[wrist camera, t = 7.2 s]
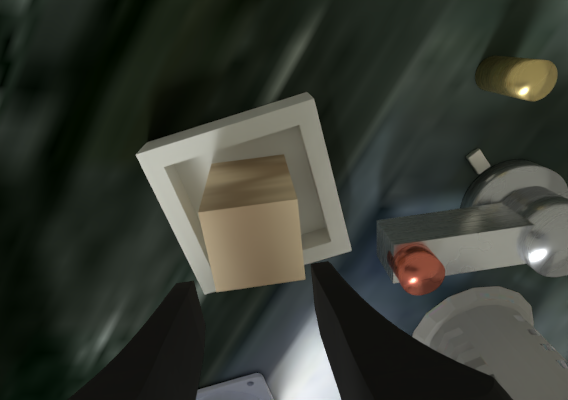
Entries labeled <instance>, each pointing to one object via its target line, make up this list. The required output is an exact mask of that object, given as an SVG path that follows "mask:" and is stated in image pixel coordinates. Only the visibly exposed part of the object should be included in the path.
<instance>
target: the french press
mask: <svg viewBox="0 0 568 400" xmlns="http://www.w3.org/2000/svg"><path fill="white" fill-rule="evenodd" d="M533 326H534V321H533V314H532V307H531V305H530V304H529V303H528V302H527V301H526V300H525V299H524V298H523V297H522V295H521V294H520V293H518V292H515V291H512V290H509V289H506V288H503V287H500V286H493V287H478V288H471V289H469V290H466V291H463V292H461V293H458V294H456V295H453V296H450V297H448V298H446V299H445V300H444V301H442V302H441V303H440V304H438V305H437V306H436V307H434V308H433V309H432V310H430V311H429V312H428V313H426V315H425V316H424V318H423V319H422V321H421V322H420V323H419V325H418V326H417V328H416V329H415V331H414V332H413V336H412V337H413V338H415V339H417V340H418V341H420V342H422V343H423V344H425V345H427V346H428V347H430V348H432V349H434V350H435V351H437V352H439V353H441V354H443V355H445V356H447V357H449V358H451V359H453V360H455V361H457V362H459V363H462V364H464V365H466V366H469V367H471V368H473V369H476V370H478V371H481V372H483V373H485V374H488V375H490V376H492V377H494V378H495V379H496V381H497V382H498V383H499V384H500V385H501V386H502V387H503V388H504V389H505V391H506V392H507V393H508V394H509V395H510V397H511V398H512V399H513V400H568V367H567V365H566V363H565V362H564V360H565V359H564V358H563V357H562V356H561V355H560V354H559V353H558V352H557V351H556V350H555V349H554V348H553V347H552V348H553V349H554V351H552V349H551V347H550V345H549V343H548V342H547V341H546V340H545V339H544V338H543V337H542V336H541V334H540V333H539V332H538V331H537V330H536V329H535V328H534V327H533ZM536 331H537V332H538V333H539V334H540V336H538V334H537V332H536ZM543 344H546V346H547V349H548V350H545V349H544V347H543ZM557 360H560V362H561V364H562V365H563V367H564V368H562V367H561V366H560V365H559V364H558V362H557ZM565 361H566V360H565ZM566 362H567V361H566ZM567 363H568V362H567Z"/></svg>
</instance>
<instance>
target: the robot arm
mask: <svg viewBox="0 0 568 400" xmlns="http://www.w3.org/2000/svg"><path fill="white" fill-rule="evenodd" d="M311 272H312V282H313V293H314V304H315V311H316V316H317V321H318V326H319V331H320V335H321V338H322V341H323V344H324V347H325V351H326V354H327V357H328V360H329V363H330V366H331V369H332V372H333V375H334V378H335V381H336V384H337V387H338V390H339V393H340V396H341V400H513V399H512V398H511V397H510V395H509V394H508V393H507V392H506V391H505V389H504V388H503V387H502V386H501V385H500V384H499V383H498V382H497V381H496V379H495V378H494V377H492V376H490V375H488V374H485V373H483V372H481V371H478V370H476V369H473V368H471V367H469V366H466V365H464V364H462V363H459V362H457V361H455V360H453V359H451V358H449V357H447V356H445V355H443V354H441V353H439V352H437V351H435V350H434V349H432V348H430V347H428V346H427V345H425V344H423V343H422V342H420V341H418V340H417V339H415V338H413V337H412V336H410V335H408V334H407V333H405V332H404V331H402V330H401V329H399V328H398V327H397V326H395V325H394V324H393V323H391V322H390V321H388V320H387V319H386V318H385V317H383V316H382V315H381V314H380V313H378V312H377V311H376V310H375V309H374V308H373V307H371V306H370V305H369V304H368V303H367V302H366V301H365V300H364V299H363V298H362V297H361V296H360V295H359V294H358V293H357V292H356V291H355V290H354V289H353V288H352V287H351V286H350V285H349V284H348V283H347V282H346V281H345V280H344V279H343V278H342V277H341V275H340V274H339V273H338V272H337V271H336V270H335V268H334V267H333V266H332V264H331V263H329V262H328V261H327V262H320V263H314V264H311ZM205 328H206V325H205V321H204V318H203V314H202V310H201V306H200V302H199V299H198V295H197V291H196V287H195V284H194V281H190V282H183V283H176V285H175V286H174V287H173V288H172V290H171V291H170V292H169V293H168V295H167V296H166V297H165V299H164V300H163V301H162V303H161V304H160V305H159V307H158V308H157V309H156V311H155V312H154V313H153V314H152V316H151V317H150V318H149V319H148V321H147V322H146V323H145V324H144V326H143V327H142V328H141V329H140V330H139V332H138V333H137V334H136V335H135V336H134V337H133V338H132V340H131V341H130V342H129V343H128V344H127V345H126V346H125V347H124V349H123V350H122V351H121V352H120V353H119V354H118V355H117V356H116V357H115V358H114V359H113V360H112V361H111V362H110V363H109V364H108V365H107V366H106V367H105V368H104V369H102V370H101V371H100V372H99V373H98V374H97V375H96V376H95V377H94V378H93V379H91V380H90V381H89V382H88V383H87V384H86V385H84V386H83V387H82V388H81V389H80V390H78V391H77V392H76V393H75V394H74V395H73V396H71V397H70V398H69V399H68V400H274V399H273V397H272V394H271V392H270V390H269V388H268V386H267V384H266V381H265V379H264V377H263V375H262V374H260V373H254V374H251V375H247V376H244V377H240V378H237V379H233V380H230V381H226V382H223V383H219V384H216V385H212V386H209V387H205V388H202V389H198V385H199V380H200V374H201V368H202V363H203V357H204V347H205ZM249 381H250V382H249Z"/></svg>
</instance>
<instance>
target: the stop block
mask: <svg viewBox="0 0 568 400" xmlns="http://www.w3.org/2000/svg"><path fill="white" fill-rule="evenodd" d="M198 214H199V219H200V223H201V228H202V232H203V236H204V241H205V245H206V249H207V254H208V258H209V262H210V267H211V271H212V275H213V280H214V284H215V288H216V292H222V291H229V290H236V289H243V288H250V287H257V286H264V285H271V284H278V283H285V282H292V281H299V280H305V270H304V260H303V250H302V240H301V229H300V219H299V209H298V199H297V196H296V193H295V189H294V186H293V183H292V179H291V176H290V173H289V169H288V166H287V163H286V160H285V156H284V154H282V155H275V156H267V157H259V158H251V159H244V160H236V161H228V162H221V163H213V164H211V167H210V171H209V174H208V178H207V182H206V185H205V189H204V193H203V196H202V200H201V204H200V207H199V211H198Z"/></svg>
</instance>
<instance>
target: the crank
mask: <svg viewBox="0 0 568 400" xmlns="http://www.w3.org/2000/svg"><path fill="white" fill-rule="evenodd" d="M377 257H378V258H379V260H380V262H381V263H382V265H383V267H384V269H385V270H386V272H387V274H388V275H389V277H390V279H391V281H392V282H393V283H399V282H400V283H401V285H402V287H403V288H404V290H405V291H406V292H408V293H410V294H413V295H424V294H428V293H430V292H432V291H434V290H435V289H437V288H438V287H439V286H440V285H441V283H442V282H443V280H444V277H445V276H446V275H453V274H459V273H466V272H473V271H480V270H486V269H493V268H500V267H506V266H513V265H520V264H528V265H529V266H530V267H531V268H532V269H534V270H535V271H536V272H537V273H539V274H541V275H543V276H546V277H561V276H565V275H568V199H567V198H565V197H563V196H561V195H559V194H557V193H555V192H553V191H551V190H549V189H547V188H545V187H541V186H530V187H525V188H522V189H520V190H518V191H516V192H514V193H512V194H511V195H510V196H508V197H507V198H506V199H505V200H504V201H503V202H502V203H496V204H489V205H482V206H475V207H468V208H461V209H454V210H447V211H440V212H433V213H426V214H418V215H411V216H404V217H397V218H390V219H383V220H377Z"/></svg>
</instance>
